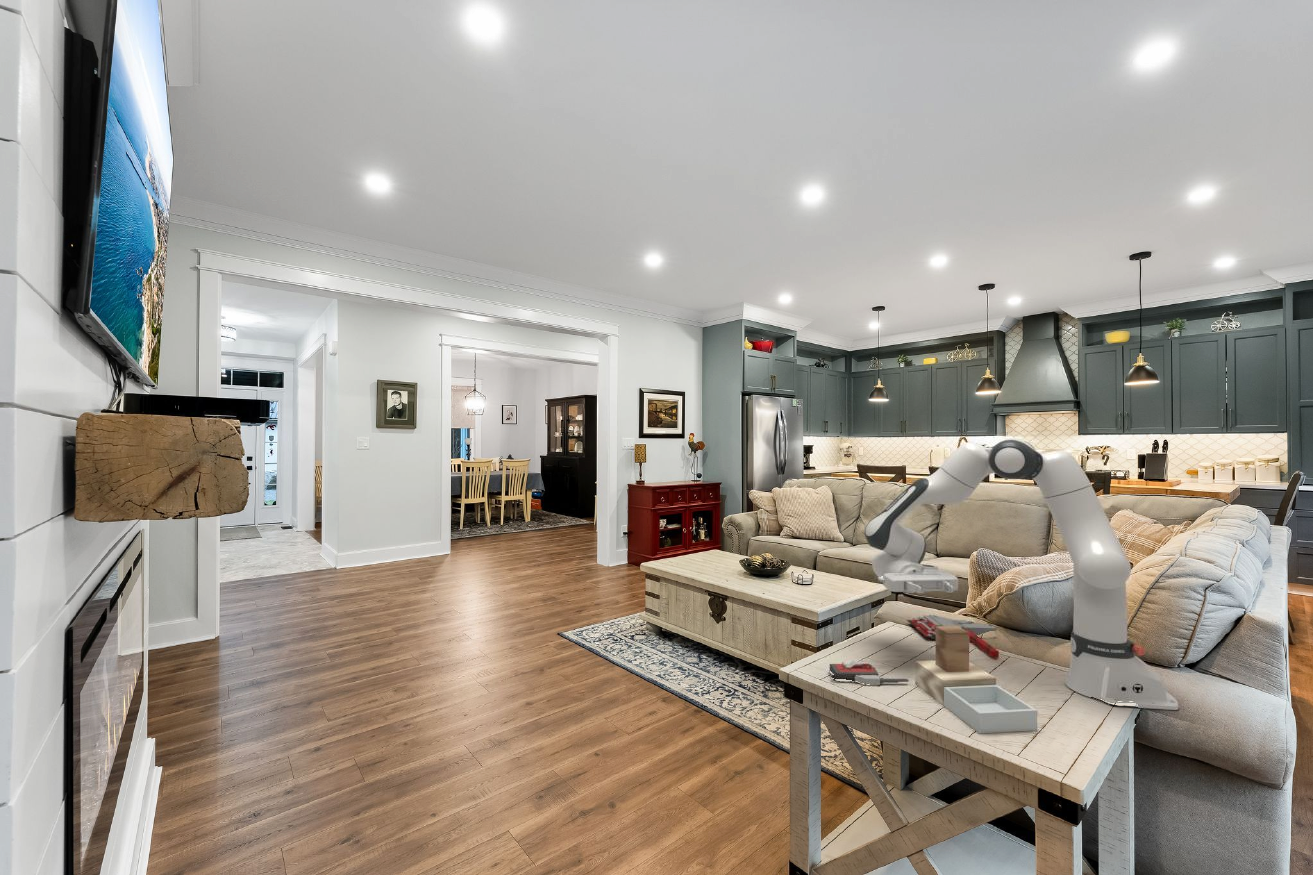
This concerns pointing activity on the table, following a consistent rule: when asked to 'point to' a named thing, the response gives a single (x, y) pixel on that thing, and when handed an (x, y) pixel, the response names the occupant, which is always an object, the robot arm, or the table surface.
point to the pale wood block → (948, 678)
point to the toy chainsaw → (860, 673)
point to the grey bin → (990, 709)
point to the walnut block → (952, 648)
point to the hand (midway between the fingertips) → (936, 590)
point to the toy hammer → (930, 622)
